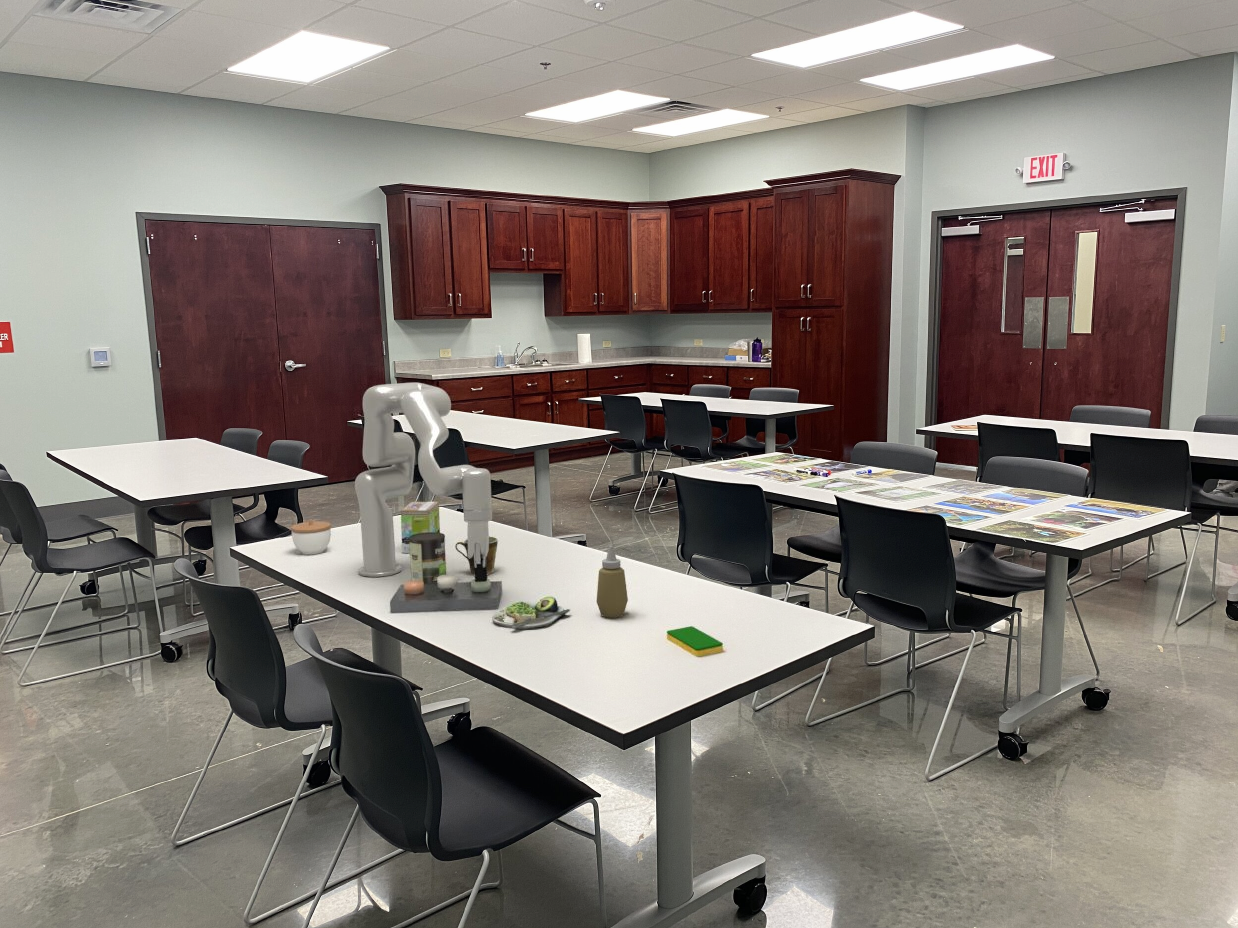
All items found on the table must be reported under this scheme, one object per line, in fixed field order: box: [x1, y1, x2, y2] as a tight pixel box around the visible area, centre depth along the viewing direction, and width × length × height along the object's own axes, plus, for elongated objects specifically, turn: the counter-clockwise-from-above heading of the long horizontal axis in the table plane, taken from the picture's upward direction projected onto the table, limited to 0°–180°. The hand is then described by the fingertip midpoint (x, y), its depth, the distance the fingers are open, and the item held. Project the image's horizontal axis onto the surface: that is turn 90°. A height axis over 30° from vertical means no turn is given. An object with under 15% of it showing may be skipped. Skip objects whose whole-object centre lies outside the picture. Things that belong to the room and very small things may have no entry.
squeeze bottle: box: [596, 545, 629, 619], centre depth 237 cm, size 8×8×18 cm
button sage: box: [470, 577, 491, 592], centre depth 252 cm, size 5×5×5 cm
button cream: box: [437, 574, 458, 593], centre depth 251 cm, size 5×5×5 cm
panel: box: [389, 580, 503, 614], centre depth 252 cm, size 16×28×3 cm, turn 93°
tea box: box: [400, 501, 441, 554], centre depth 311 cm, size 15×10×15 cm
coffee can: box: [409, 532, 447, 584], centre depth 269 cm, size 10×10×14 cm
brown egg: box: [403, 580, 424, 594], centre depth 251 cm, size 5×5×5 cm
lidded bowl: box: [290, 519, 332, 556], centre depth 309 cm, size 13×13×11 cm
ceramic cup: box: [455, 536, 499, 575], centre depth 280 cm, size 13×10×10 cm
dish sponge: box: [666, 625, 724, 658], centre depth 215 cm, size 7×14×2 cm, turn 27°
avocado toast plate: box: [491, 596, 571, 630], centre depth 235 cm, size 19×18×5 cm
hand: (481, 580), depth 251 cm, fingers closed
